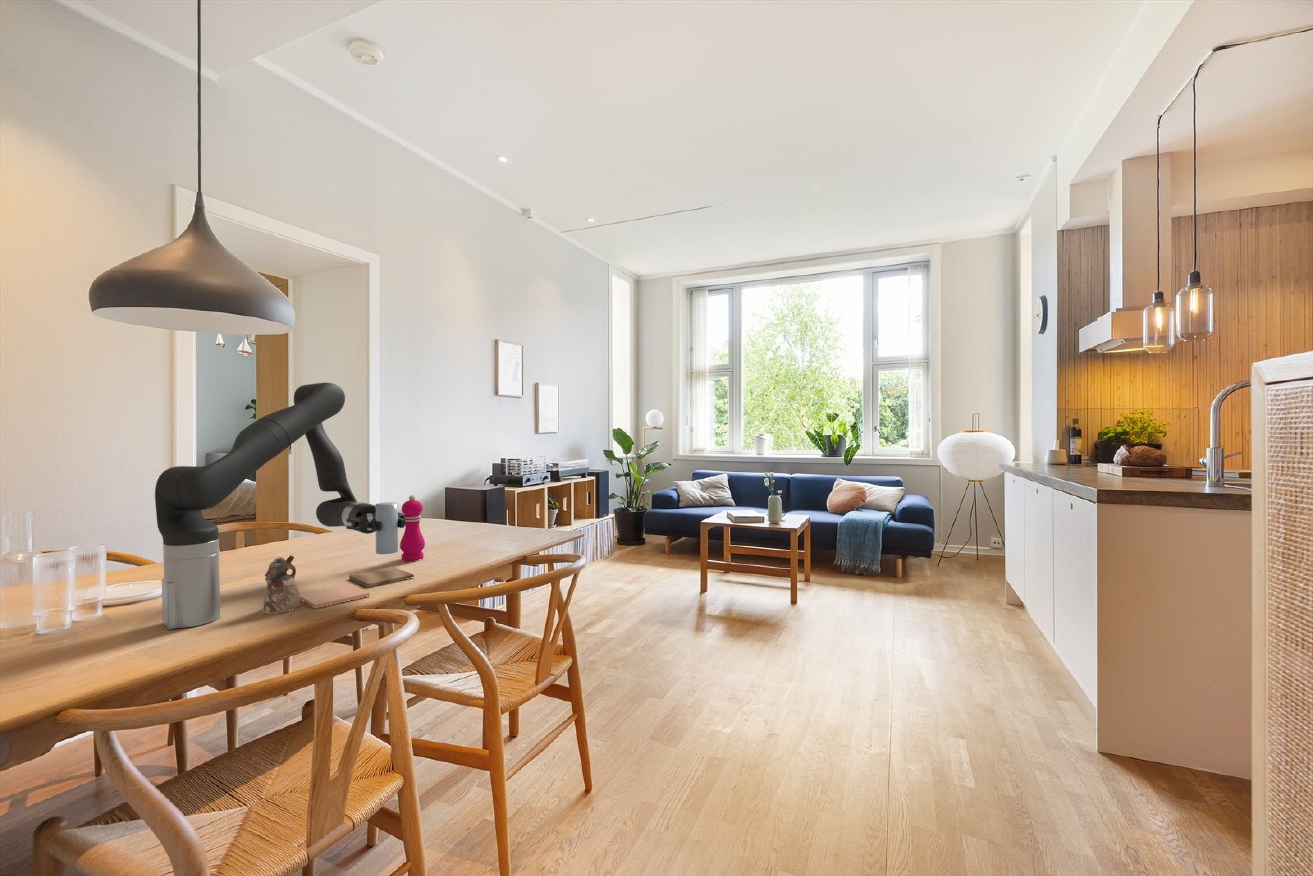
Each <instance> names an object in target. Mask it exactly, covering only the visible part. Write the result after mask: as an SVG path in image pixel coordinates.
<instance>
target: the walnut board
mask: <svg viewBox="0 0 1313 876" xmlns="http://www.w3.org/2000/svg"><path fill="white" fill-rule="evenodd" d="M414 576H415V575H414V574H413V573H410V572H408V571H405V570H403V569H400V568H398V567H394V566H392V567H391V566H390V567H387V568H382V569H376V570H372V571H367V572H362V573H360V572H359V573H356V574H352V575H351V574H350V575H349V580H350V579H351V580H350V581H352V580H353V582H354V581H355V582H354V583H357V582H358V583H357V584H359V583H360V584H359V585H361V584H362V585H361V586H363V585H364V586H363V587H365V586H367V587H366V588H368V587H370V588H372V587H371V586H375V587H378V586H377V585H379V586H382V585H381V584H384V585H386V584H385V583H389V582H393V583H397V582H396V581H398V582H401V581H400V580H403V581H405V580H404V579H407V578H411V577H414ZM414 578H415V577H414ZM407 580H408V579H407ZM389 584H390V583H389Z"/></svg>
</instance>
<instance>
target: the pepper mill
mask: <svg viewBox="0 0 1313 876" xmlns="http://www.w3.org/2000/svg"><path fill="white" fill-rule="evenodd" d="M423 509H424V507H423V504H422V502H421V501H419V500H417V499H416V496H415V495H414V494H410V496H409V497H408V500H406V501H405V502H404V503H402V505H401V513H402V514H404V515H405V526H404V532H403V534H402V537H401V539H400V542H399V549H400V550H401V552H403V553H401V561H402V560H403V562H416V561H415V560H418V561H420V560H419V559H422V560H423V559H424V555H425V554H424V552H423V550H424V549H425V546H426V540H425V538H424V536H423V534H422V531H421V529H420V521H421V520H422V515H421V513H422V512H423Z"/></svg>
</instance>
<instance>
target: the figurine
mask: <svg viewBox="0 0 1313 876" xmlns="http://www.w3.org/2000/svg"><path fill="white" fill-rule="evenodd" d="M294 559H295V556H293V555H292V554H290V555H289V556H288V557H287V558H286V559H285V558H284V557H282V556H278V557H276V558H275V559H274V560H273V561H271V563H269V565H268V569H267V571H266V572H265V574H264V576H265V578H264V580H265V582H266V584H267V586H266V591H265V596H264V600H263V606H262V614H265V613H267V614H266V615H279V614H278V613H280V614H284V613H283V612H286V613H288V612H287V611H289V610H292V609H295V610H297V609H298V608H299V607H300V604H301V603H300V601H301V600H300V596H299V594H300V591H299V588H298V584H297V581H296V579H295V576H296V573H297V570H296V567H295V565H294V564H293V563H292V562H293V561H294ZM289 570H291V571H292V573H290V574H288V571H289ZM298 606H299V607H298ZM297 607H298V608H297ZM296 608H297V609H296ZM292 611H293V610H292ZM289 612H290V611H289Z"/></svg>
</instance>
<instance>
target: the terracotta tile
mask: <svg viewBox="0 0 1313 876" xmlns="http://www.w3.org/2000/svg"><path fill="white" fill-rule="evenodd" d="M370 595H371V593H370V592H368V591H367V590H364V589H362V588H360V587H358V586H355V585H353V584H352V583H346V584H341V585H336V586H332V587H327V588H325V587H324V588H321V589H317V590H311V591H307V592H306V591H305V592H301V593H299V596H300V601H301V600H303V601H304V602H305V604H306V603H307V604H306V605H308V604H309V605H311V606H312V607H311V606H310V607H311V608H313V607H314V608H315V609H314V608H313V609H314V610H317V609H316V608H318V609H320V608H319V607H322V606H326V605H330V604H336V605H338V604H337V603H340V604H342V603H341V602H345V601H348V600H354V601H356V600H357V599H358V600H361V599H360V598H363V597H367V596H370ZM367 598H368V597H367ZM363 599H364V598H363ZM303 601H302V602H303ZM304 602H303V603H304ZM345 603H346V602H345ZM309 605H308V606H309Z"/></svg>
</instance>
